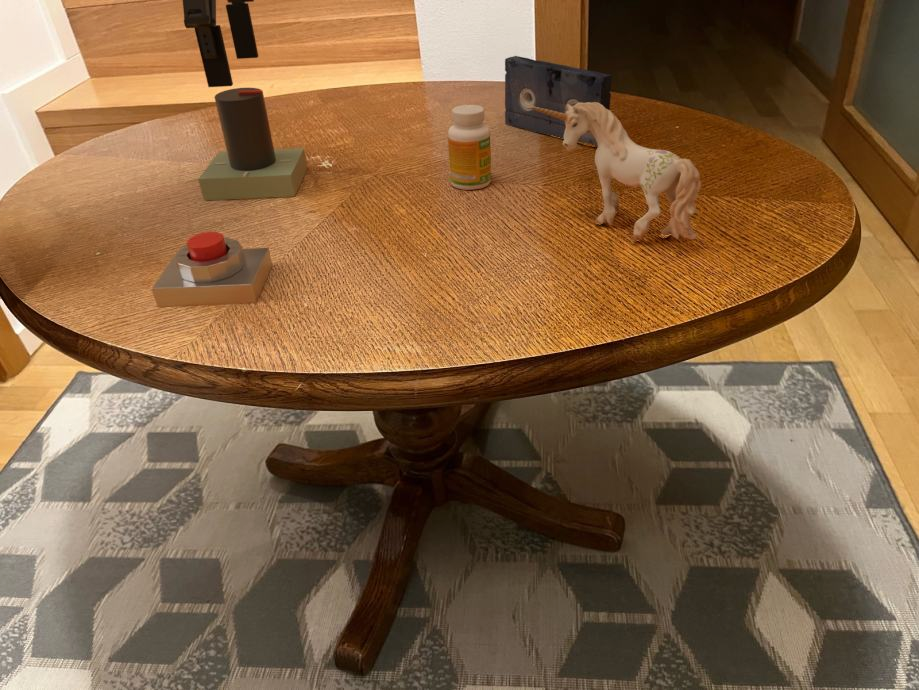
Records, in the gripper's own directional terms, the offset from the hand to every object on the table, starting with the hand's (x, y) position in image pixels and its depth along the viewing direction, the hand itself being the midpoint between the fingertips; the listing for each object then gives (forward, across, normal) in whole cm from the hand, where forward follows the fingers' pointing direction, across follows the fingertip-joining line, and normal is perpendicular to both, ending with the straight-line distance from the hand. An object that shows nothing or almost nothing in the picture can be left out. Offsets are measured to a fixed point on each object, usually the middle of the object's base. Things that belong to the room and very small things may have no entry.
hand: (235, 71), depth 91 cm
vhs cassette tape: (+15, +15, -42) cm, 47 cm away
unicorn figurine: (+15, -20, -44) cm, 51 cm away
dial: (+12, 0, 0) cm, 12 cm away
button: (+11, -28, -2) cm, 30 cm away
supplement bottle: (+15, -3, -29) cm, 33 cm away
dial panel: (+15, 0, 0) cm, 15 cm away
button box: (+15, -28, -2) cm, 32 cm away
